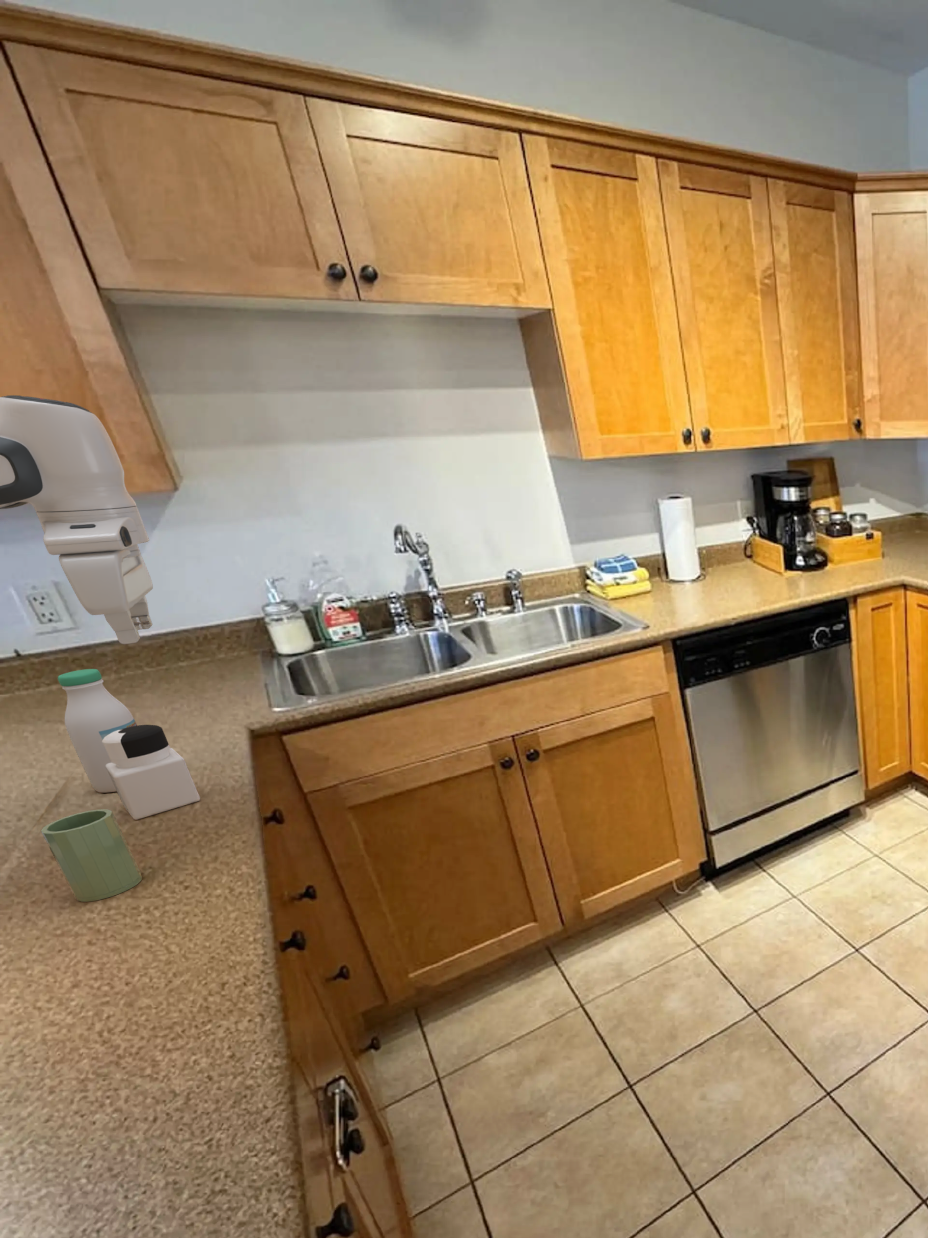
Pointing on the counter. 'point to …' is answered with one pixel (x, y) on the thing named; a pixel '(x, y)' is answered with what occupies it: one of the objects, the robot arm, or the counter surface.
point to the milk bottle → (92, 722)
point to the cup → (92, 854)
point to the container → (148, 771)
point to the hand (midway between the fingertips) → (137, 635)
